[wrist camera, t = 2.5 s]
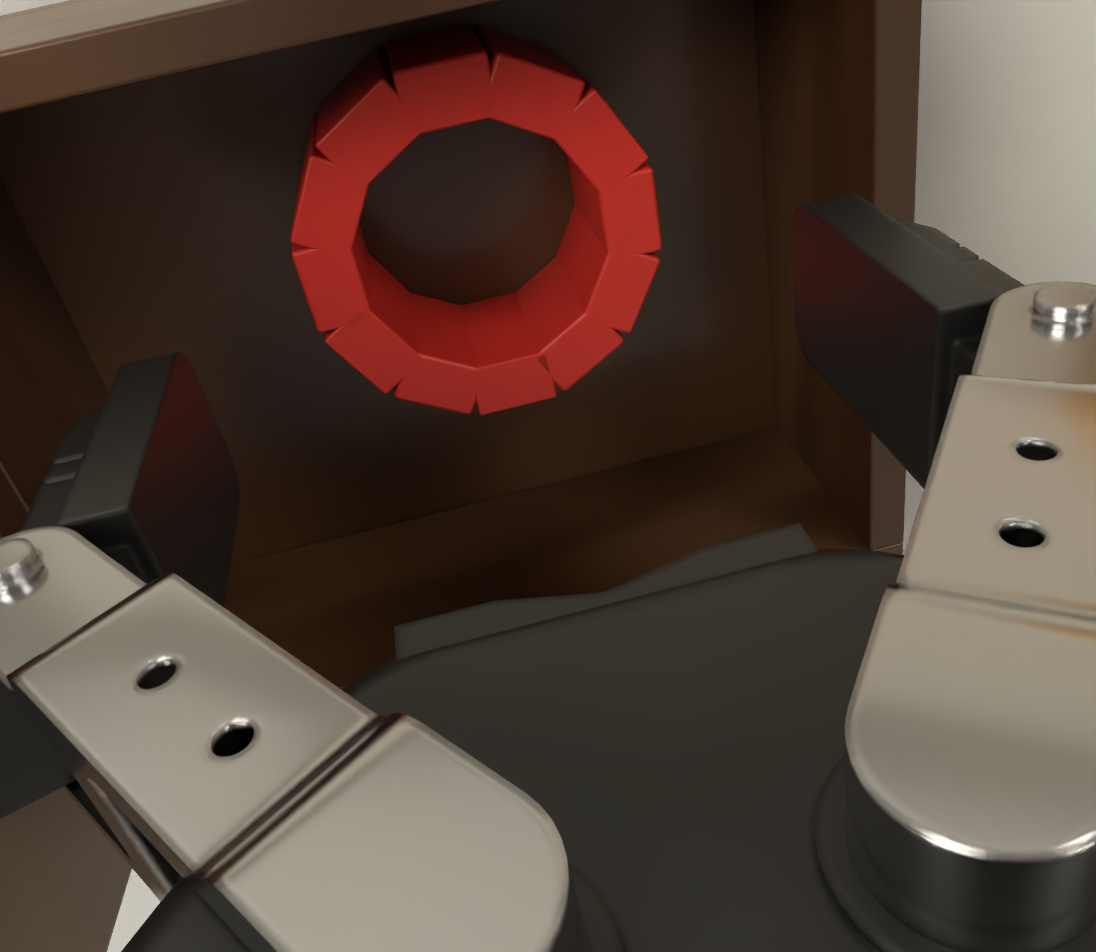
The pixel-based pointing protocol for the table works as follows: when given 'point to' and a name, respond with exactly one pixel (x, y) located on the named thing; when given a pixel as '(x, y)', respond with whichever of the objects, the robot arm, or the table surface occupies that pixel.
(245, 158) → the box
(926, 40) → the table surface
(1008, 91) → the table surface
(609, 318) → the ring
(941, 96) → the table surface
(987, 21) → the table surface
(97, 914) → the lid
